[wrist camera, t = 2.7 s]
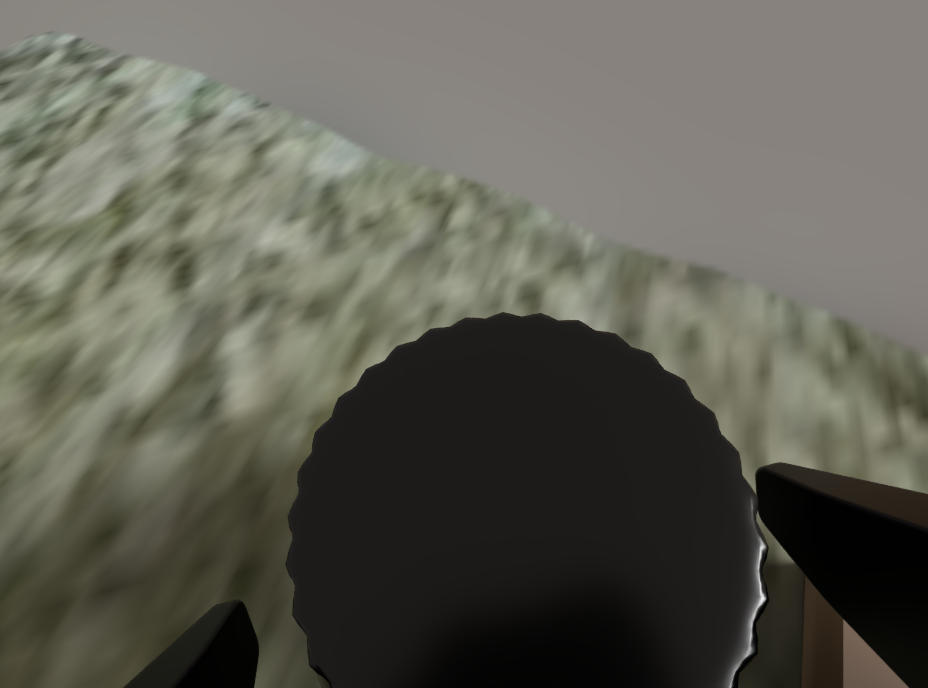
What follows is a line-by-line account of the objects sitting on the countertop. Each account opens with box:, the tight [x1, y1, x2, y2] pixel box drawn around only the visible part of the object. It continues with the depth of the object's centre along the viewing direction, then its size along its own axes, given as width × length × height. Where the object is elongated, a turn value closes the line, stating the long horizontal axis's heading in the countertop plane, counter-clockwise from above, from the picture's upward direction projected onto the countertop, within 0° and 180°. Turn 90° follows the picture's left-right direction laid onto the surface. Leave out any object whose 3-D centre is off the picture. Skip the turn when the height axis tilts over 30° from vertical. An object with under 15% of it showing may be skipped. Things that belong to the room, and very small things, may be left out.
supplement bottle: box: [286, 312, 769, 688], centre depth 10 cm, size 7×7×12 cm
